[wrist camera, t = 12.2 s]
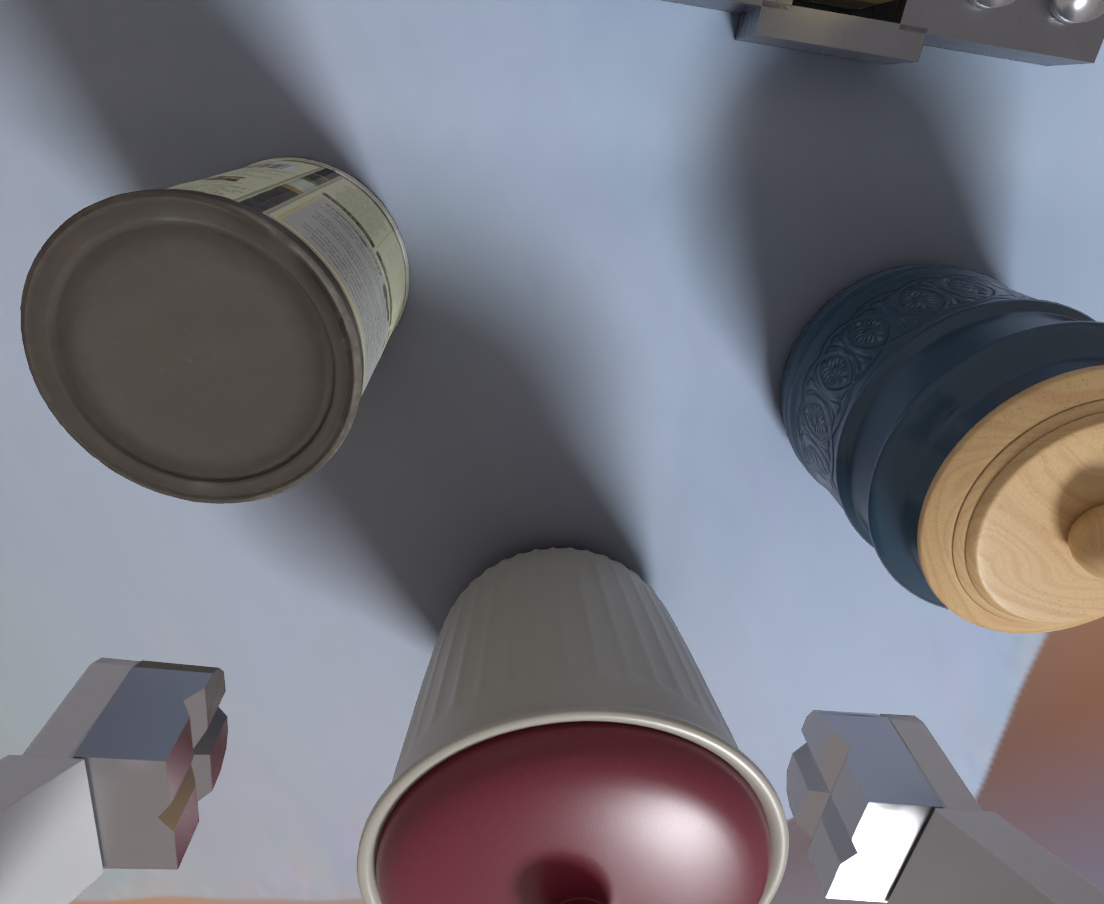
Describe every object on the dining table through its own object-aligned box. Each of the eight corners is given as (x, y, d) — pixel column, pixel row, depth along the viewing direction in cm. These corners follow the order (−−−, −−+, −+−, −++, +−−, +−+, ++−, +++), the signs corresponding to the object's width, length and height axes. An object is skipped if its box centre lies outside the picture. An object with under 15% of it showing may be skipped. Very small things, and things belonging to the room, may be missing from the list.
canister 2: (1053, 388, 41) (1400, 573, 25) (851, 526, 44) (1045, 768, 28) (943, 202, 36) (1283, 283, 20) (727, 371, 39) (874, 555, 23)
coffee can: (296, 407, 39) (194, 555, 26) (148, 240, 35) (-58, 320, 22) (455, 298, 37) (426, 402, 24) (316, 107, 33) (195, 112, 20)
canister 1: (446, 752, 50) (408, 1151, 31) (370, 527, 42) (257, 876, 23) (711, 706, 50) (837, 1083, 31) (683, 469, 42) (828, 779, 23)
